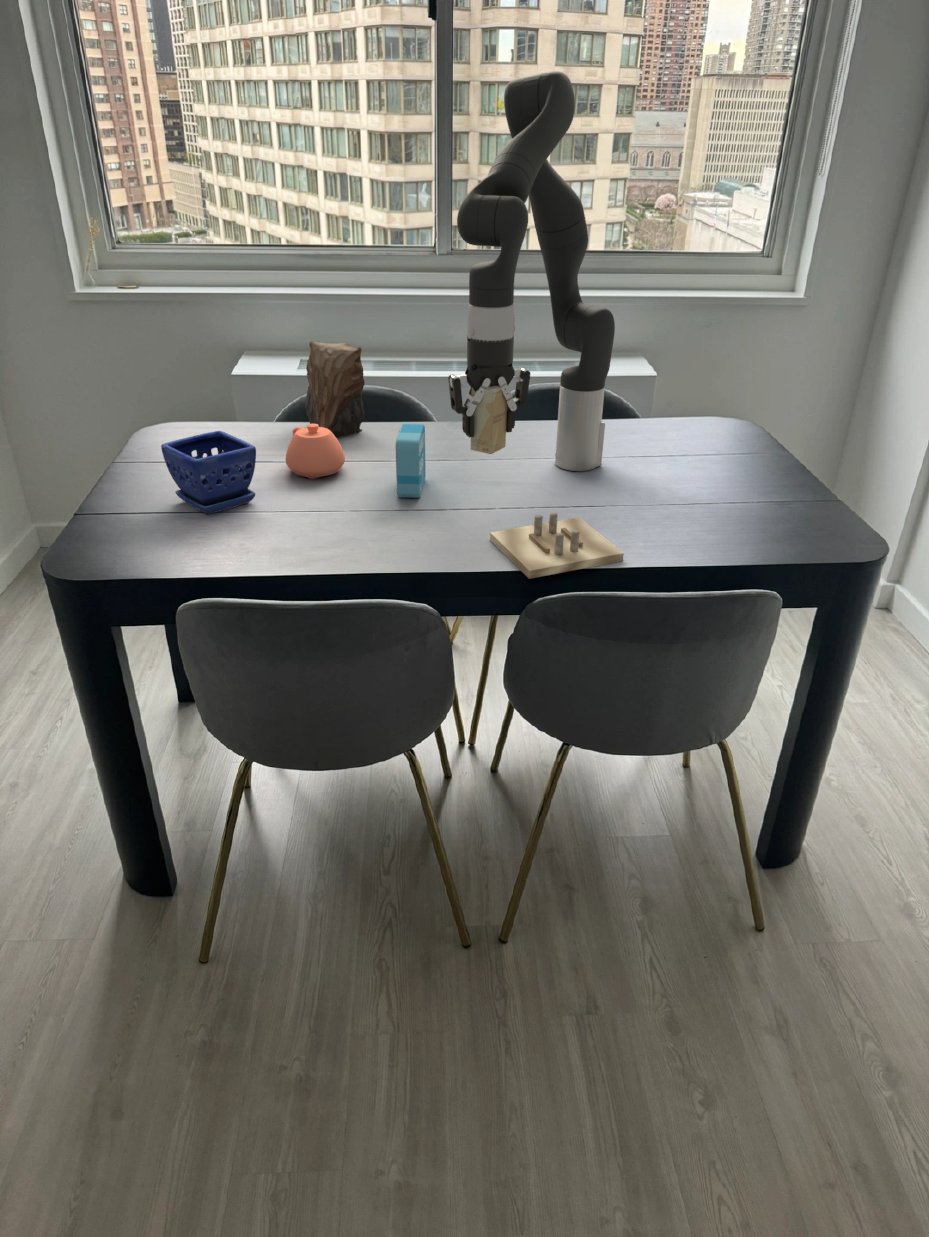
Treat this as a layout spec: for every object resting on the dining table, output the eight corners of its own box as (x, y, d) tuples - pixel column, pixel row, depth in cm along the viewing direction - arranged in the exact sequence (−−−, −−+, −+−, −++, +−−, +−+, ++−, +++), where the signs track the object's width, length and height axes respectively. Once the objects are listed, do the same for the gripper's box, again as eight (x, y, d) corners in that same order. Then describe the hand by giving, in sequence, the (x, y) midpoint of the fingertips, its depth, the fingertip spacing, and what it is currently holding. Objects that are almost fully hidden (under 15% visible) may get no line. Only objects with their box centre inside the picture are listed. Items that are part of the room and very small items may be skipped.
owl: (305, 425, 212) (298, 341, 202) (355, 419, 217) (350, 336, 206) (319, 441, 202) (313, 353, 192) (371, 434, 207) (367, 348, 197)
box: (490, 455, 148) (492, 390, 142) (469, 450, 150) (469, 386, 144) (506, 446, 151) (508, 382, 146) (485, 441, 153) (486, 378, 148)
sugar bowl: (307, 487, 179) (303, 438, 173) (271, 468, 188) (266, 421, 182) (356, 473, 186) (354, 426, 180) (320, 455, 195) (316, 410, 189)
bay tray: (577, 524, 164) (579, 499, 161) (622, 560, 151) (625, 534, 149) (489, 539, 158) (490, 514, 155) (529, 578, 145) (530, 551, 143)
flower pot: (227, 484, 179) (220, 428, 173) (264, 503, 171) (257, 444, 165) (168, 502, 171) (158, 443, 165) (203, 522, 163) (194, 461, 157)
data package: (419, 500, 173) (418, 442, 167) (396, 499, 173) (395, 441, 167) (425, 478, 184) (424, 422, 177) (404, 477, 184) (402, 421, 178)
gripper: (521, 324, 146) (517, 422, 154) (440, 331, 141) (441, 431, 150) (541, 334, 140) (536, 435, 148) (457, 342, 135) (456, 445, 144)
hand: (488, 433), depth 149 cm, fingers closed on box, 6 cm apart
